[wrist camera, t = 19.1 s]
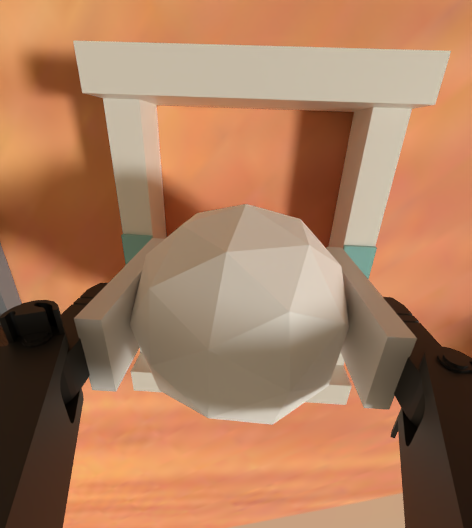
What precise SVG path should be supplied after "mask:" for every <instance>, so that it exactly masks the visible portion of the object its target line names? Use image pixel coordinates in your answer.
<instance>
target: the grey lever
mask: <svg viewBox="0 0 472 528" xmlns="http://www.w3.org/2000/svg"><path fill="white" fill-rule="evenodd" d="M8 344H9V343H8V341H7V338H6V336H5V333H4V331H3V328H2V326H1V325H0V347H1V346H7V345H8Z"/></svg>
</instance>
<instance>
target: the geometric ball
mask: <svg viewBox="0 0 472 528" xmlns="http://www.w3.org/2000/svg"><path fill="white" fill-rule="evenodd" d="M130 327H131V329H132V332H133V334H134V336H135V338H136V340H137V342H138V345H139V347H140V349H141V351H142V353H143V356H144V358H145V360H146V362H147V364H148V366H149V369H150V371H151V373H152V375H153V377H154V380H155V382H156V384H157V386H158V388H159V390H160V391H161V392H163V393H165V394H167V395H169V396H170V397H172V398H174V399H176V400H177V401H179V402H181V403H183V404H184V405H186V406H188V407H190V408H191V409H193V410H195V411H197V412H198V413H200V414H202V415H204V416H206V417H207V418H213V419H222V420H232V421H242V422H252V423H262V424H272V425H273V424H274V423H275V422H277V421H278V420H280V419H281V418H283V417H284V416H286V415H287V414H289V413H290V412H291V411H293V410H294V409H296V408H297V407H299V406H300V405H302V404H303V403H304V402H306V401H307V400H309V399H310V398H312V397H313V396H315V395H316V394H317V393H319V392H320V391H322V390H323V389H325V388H326V387H328V386H329V384H330V381H331V378H332V375H333V372H334V369H335V367H336V364H337V361H338V358H339V355H340V352H341V349H342V346H343V344H344V341H345V338H346V335H347V332H348V329H349V319H348V312H347V304H346V297H345V289H344V282H343V274H342V267H341V265H340V264H339V263H338V262H337V260H336V259H335V258H334V257H333V256H332V255H331V254H330V252H329V251H328V250H327V249H326V248H325V247H324V245H323V244H322V243H321V242H320V241H319V240H318V238H317V237H316V236H315V235H314V234H313V233H312V232H311V230H310V229H309V228H308V227H307V226H306V225H305V223H304V222H303V221H302V220H301V219H299V218H295V217H291V216H288V215H284V214H281V213H277V212H273V211H270V210H266V209H263V208H259V207H255V206H252V205H248V204H243V205H238V206H233V207H227V208H222V209H216V210H211V211H206V212H200V213H196V214H195V215H194V216H193V217H191V218H190V219H189V220H187V221H186V222H185V223H184V224H182V225H181V226H180V227H179V228H177V229H176V230H175V231H174V232H173V233H171V234H170V235H169V236H168V237H167V238H165V239H164V240H163V241H162V242H161V243H159V244H158V245H157V246H156V247H155V248H153V249H152V250H151V251H150V252H149V253H147V254H146V257H145V261H144V265H143V270H142V274H141V278H140V282H139V286H138V290H137V294H136V299H135V303H134V307H133V311H132V315H131V320H130Z"/></svg>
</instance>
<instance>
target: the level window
mask: <svg viewBox="0 0 472 528" xmlns="http://www.w3.org/2000/svg"><path fill="white" fill-rule="evenodd" d="M73 42H74V48H75V54H76V60H77V65H78V71H79V77H80V83H81V88H82V93H84V94H88V95H92V96H96V97H100V98H103V103H104V109H105V116H106V123H107V130H108V136H109V143H110V150H111V157H112V164H113V170H114V177H115V184H116V191H117V197H118V204H119V211H120V218H121V225H122V231H123V234H122V235H121V237H122V243H123V250H124V257H125V263H126V264H127V263H128V262H129V261H130V260H131V259H132V258H133V257H134V256H135V255H136V254H137V253H138V252H139V251H140V250H141V249H142V248H143V247H144V246H145V245H146V244H147V243H148V242H149V241H150V240H151V239H152V238H158V239H165V238H167V235H166V222H165V209H164V196H163V183H162V170H161V157H160V144H159V131H158V118H157V105H166V106H195V107H224V108H253V109H281V110H310V111H339V112H354V115H353V120H352V125H351V130H350V136H349V141H348V146H347V152H346V157H345V162H344V167H343V173H342V178H341V183H340V188H339V194H338V199H337V204H336V210H335V215H334V220H333V225H332V231H331V236H330V241H329V246H328V247H342V248H343V250H344V251H345V252H346V253H347V254H348V256H349V257H350V258H351V259H352V260H353V262H354V263H355V264H356V265H357V266H358V268H359V269H360V270H361V271H362V273H363V274H364V275H365V276H366V277H367V279H368V278H369V275H370V271H371V267H372V264H373V260H374V256H375V253H376V249H377V248H376V247H375V245H376V241H377V238H378V234H379V230H380V226H381V223H382V219H383V215H384V211H385V208H386V204H387V200H388V197H389V193H390V189H391V185H392V182H393V178H394V174H395V170H396V167H397V163H398V159H399V155H400V152H401V148H402V144H403V140H404V137H405V133H406V129H407V125H408V122H409V118H410V114H411V110H412V109H413V108H419V107H425V106H431V105H435V103H436V100H437V97H438V93H439V90H440V86H441V83H442V80H443V76H444V73H445V70H446V66H447V63H448V59H449V56H450V53H451V51H436V50H399V49H362V48H325V47H289V46H252V45H215V44H178V43H141V42H104V41H73ZM343 365H344V359H343V357H342V354H341V352H340V355H339V358H338V361H337V364H336V367H335V369H334V372H333V375H332V378H331V381H330V384H329V386H328V387H326V388H325V389H323V390H322V391H320V392H319V393H317V394H316V395H315V396H313V397H312V398H310V399H309V400H307V401H306V402H312V403H327V404H341V405H346V403H347V400H348V396H349V393H350V390H351V383H350V381H349V378H348V376H347V373H346V371H345V368H344V366H343ZM131 376H132V382H133V388H134V390H136V391H151V392H161V391H160V390H159V388H158V386H157V384H156V382H155V380H154V377H153V375H152V373H151V371H150V369H149V366H148V364H147V362H146V360H145V358H144V356H143V353H142V351H141V349H140V354H139V356H138V358H137V360H136V362H135V364H134V366H133V368H132V370H131Z"/></svg>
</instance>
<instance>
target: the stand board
mask: <svg viewBox="0 0 472 528" xmlns="http://www.w3.org/2000/svg"><path fill="white" fill-rule="evenodd" d="M20 304H22V303H21V300H20V297H19V295H18V292H17V289H16V286H15V283H14V280H13V277H12V275H11V272H10V269H9V266H8V263H7V260H6V258H5V255H4V252H3V249H2V246H1V243H0V316H1V315H2V314H3V313H4V312H6V311H7V310H9V309H11V308H13V307H15V306H18V305H20ZM0 325H1V323H0Z"/></svg>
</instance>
